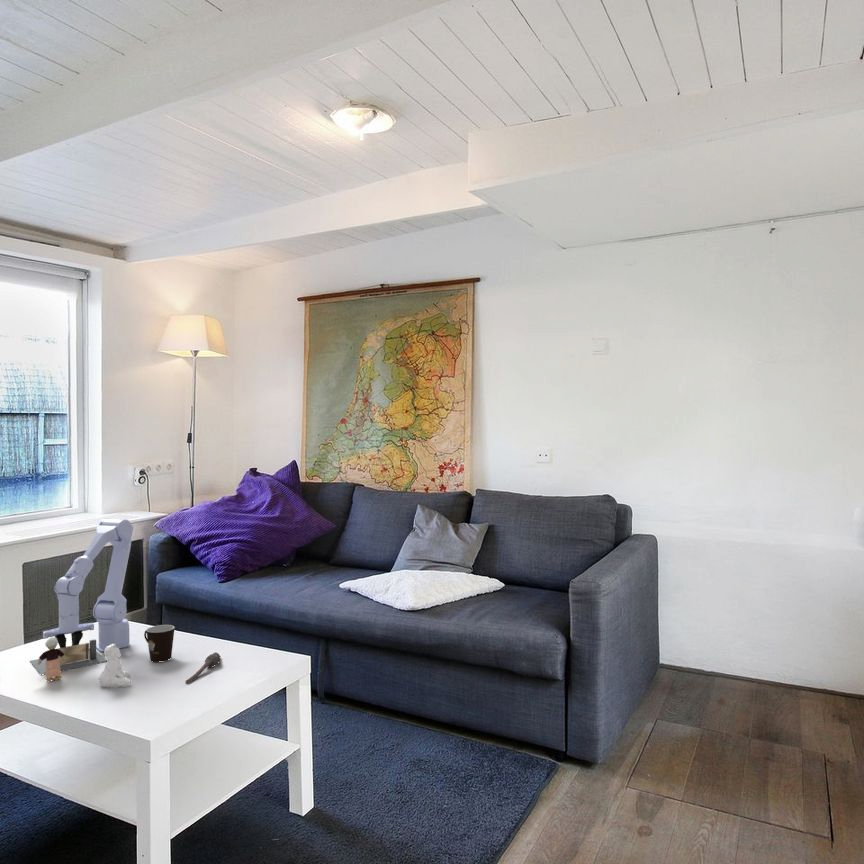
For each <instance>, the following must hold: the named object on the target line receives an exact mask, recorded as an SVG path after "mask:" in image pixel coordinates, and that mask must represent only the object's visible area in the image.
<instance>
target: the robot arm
mask: <svg viewBox="0 0 864 864" xmlns="http://www.w3.org/2000/svg"><path fill="white" fill-rule="evenodd" d="M133 532H134V525H133V524H132V523H131V521H130V520H129V519H110V518H103V519H102V520H100V522H99V524H98V525H97V526H96V529H95V535H94V537H93V538H92V540H91V542H90V543H89V544H88V547H87V548H86V550H85V552H84V553H83V555H82V556H77V557H76V558H75V559H74V561H73V563H72V564H71V566H70V568H69V569H68V570H67V572H65V574H64V576H62V577H60V578H58V580H57V581H56V582H55V585H54V587H53V589H54V592H55V594H56V595H57V596H56V598H57V600H58V627H56V628H52V629H49V630H43V631H42V638H43V639H49V638H51V637H55V638H57V640H58V643H57V644H58V646H59V648H63V647H67V637H66V635H70V636H71V646H73V645H78V644H80V642H81V640H82V639H83V637H84V633H83V632H86V631H94V630H95V624H94V622H88V623H80V604H79V603H80V598H79V597H80V596H79V595H80V593H81V592H82V591H83V589H84V583H85V580H86V577H88V574H89V573H90V572H91V570H92V569H93V568H94V560H95V559H96V557H97V556H98V555H99V554H100V553H101V551H102V550H103V548H104V547H105V546H106V545H107V544H108V543H110V545H112V547H113V549H112V552H111V553H112V554H111V559H110V564H109V568H108V572H107V578H106V583H105V587H104V592H103V593H102V594H100V595H99V596H97V600H96V603H95V604H94V607H93V609H92V616H93V617H94V618H95V620H96V623H98V624H97V625H98V626H97V627H98V644H96V650H98V651H99V652H103V653H104V650H105V648H106V647H107V646H110V644H115V646H116V648H119V649H122V648H127V646H128V647H131V644H130V624H129V623H130V622H129V619H127V618H125V617H126V616H127V612H128V610H127V601H128V600H127V598H126V597H125V596H124V595H123V594H122V593H123V586H124V583H125V577H126V572H127V567H128V561H129V557H130V553H131V548H132V547H131V546H132V537H133Z"/></svg>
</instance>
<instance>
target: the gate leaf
mask: <svg viewBox="0 0 864 864" xmlns="http://www.w3.org/2000/svg"><path fill="white" fill-rule="evenodd" d="M57 649H59V650H61V651H62V652H63V653H64V655H65V657H66V658H67V660H66V661H63V659H62V657H60V656H58V658H59V661H60V665H62V664H67V663H71V662H76V661H81V660H85V659H89V649H90V642H83V643H79V644H78V645H73V646H72V645H68V646H66V647H63V648H60V647H59V648H57Z"/></svg>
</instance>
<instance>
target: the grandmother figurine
mask: <svg viewBox="0 0 864 864" xmlns="http://www.w3.org/2000/svg"><path fill="white" fill-rule="evenodd" d="M44 646H45V647H46V648H47V649H48V650H46V651H45V650H44V652H42V654H41V655H39V657H38V659H39V660H38V662H37V664H38V665H40V664H41V662H42V660H44V659H46V658H47V659H46V675H45V677H46V679H45V680H47V681H50V682H52V681H51V680H53V681H54V680H55V681H59V680H58V679H60V680H61V679H62V678H63V675H62V673H61V672H62V671H61V670H60V661H59V658H58V656H60V657H62V659H63V661H66V660H67V658H66V657H65V655H64V653H63V652H62V651H61V650H59V649H58V648H56V647H57V646H59V644H58V640H57V638H55V636H54V637H48V638H47V640H46V641H45V645H44ZM47 681H46V682H47Z"/></svg>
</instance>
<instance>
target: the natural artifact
mask: <svg viewBox="0 0 864 864" xmlns="http://www.w3.org/2000/svg"><path fill="white" fill-rule="evenodd" d="M218 662H221V655H220V654H219V653H218V652H216V651H215V652H213V653H211V654H209V655H208V656H206V657H205V660H204V664H203V665H202V666H201V667H200V668H199V669H198V670H197V671H195V673H194V674H193V675H191V677H188V679H186V680H185V684H186V685H189V684H190V683H192V682H193V681H194V680H195V678H196V679H197V678H198V677H199V676H200V675H201V674H202V673H203V672H204V671H205V670H206V669H207V668H209V667H208V666H214V665H216V664H217V665H219V664H218ZM217 665H216V666H217ZM214 667H215V666H214Z"/></svg>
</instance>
